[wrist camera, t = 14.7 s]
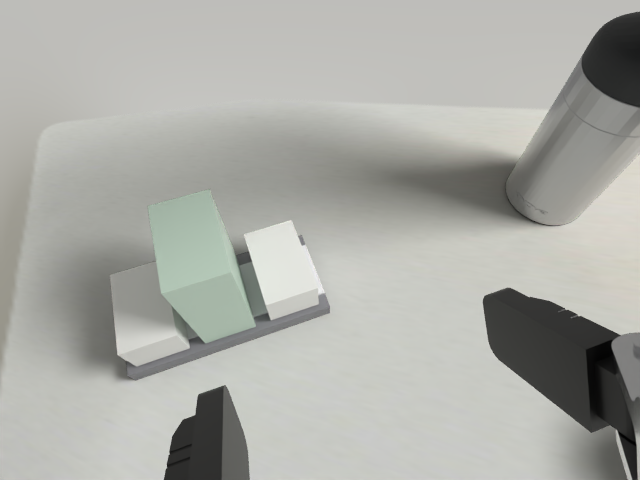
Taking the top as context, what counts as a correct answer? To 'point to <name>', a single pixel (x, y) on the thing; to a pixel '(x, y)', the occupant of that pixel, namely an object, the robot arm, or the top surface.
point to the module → (199, 266)
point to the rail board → (262, 289)
